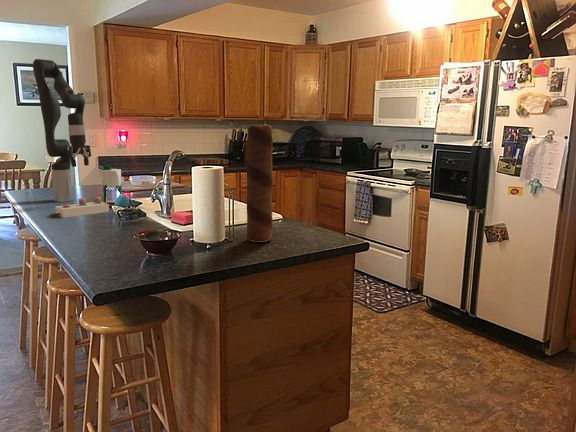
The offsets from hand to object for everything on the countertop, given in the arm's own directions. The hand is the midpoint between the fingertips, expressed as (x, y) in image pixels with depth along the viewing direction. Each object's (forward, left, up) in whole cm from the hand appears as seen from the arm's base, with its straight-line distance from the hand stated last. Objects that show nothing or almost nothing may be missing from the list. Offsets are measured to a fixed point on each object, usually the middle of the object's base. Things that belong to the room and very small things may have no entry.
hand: (80, 166), depth 247 cm
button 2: (+20, -8, -16) cm, 27 cm away
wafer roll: (+114, +22, -21) cm, 118 cm away
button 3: (+20, -1, -16) cm, 26 cm away
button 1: (+20, -16, -18) cm, 31 cm away
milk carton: (+2, +16, -21) cm, 26 cm away
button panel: (+20, -10, -21) cm, 30 cm away
